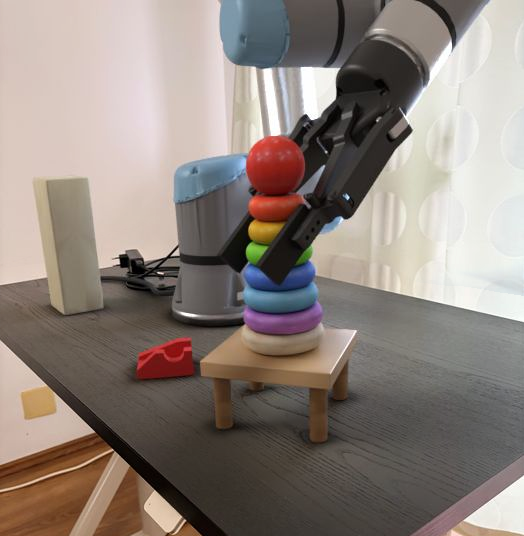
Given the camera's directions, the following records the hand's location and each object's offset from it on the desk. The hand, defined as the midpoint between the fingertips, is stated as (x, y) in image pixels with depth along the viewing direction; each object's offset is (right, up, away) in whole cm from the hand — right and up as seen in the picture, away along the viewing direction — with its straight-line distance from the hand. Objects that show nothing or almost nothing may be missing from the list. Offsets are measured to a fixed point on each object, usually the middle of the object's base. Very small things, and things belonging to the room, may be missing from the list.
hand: (247, 269), depth 51 cm
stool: (+4, -13, +7) cm, 15 cm away
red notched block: (-10, -10, +19) cm, 23 cm away
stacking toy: (+3, -7, +5) cm, 9 cm away
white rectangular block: (-29, 0, +47) cm, 56 cm away
